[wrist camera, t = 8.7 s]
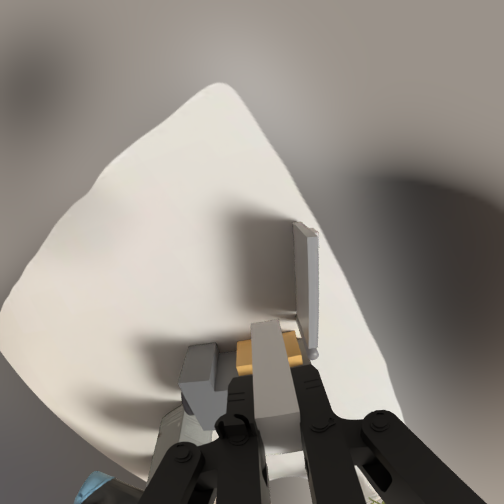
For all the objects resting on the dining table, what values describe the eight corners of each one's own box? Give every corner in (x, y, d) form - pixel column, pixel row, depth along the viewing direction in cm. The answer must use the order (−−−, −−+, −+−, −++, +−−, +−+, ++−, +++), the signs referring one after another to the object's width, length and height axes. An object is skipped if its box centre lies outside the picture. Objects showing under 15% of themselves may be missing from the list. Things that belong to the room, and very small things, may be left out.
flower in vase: (331, 471, 49) (350, 547, 25) (331, 453, 46) (353, 542, 22) (379, 456, 48) (406, 527, 24) (384, 436, 45) (419, 517, 21)
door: (309, 312, 35) (324, 346, 27) (296, 313, 35) (308, 348, 27) (307, 221, 31) (326, 235, 24) (292, 222, 31) (307, 237, 24)
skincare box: (185, 400, 40) (168, 477, 24) (218, 419, 41) (211, 493, 26) (160, 417, 41) (140, 485, 26) (190, 435, 43) (179, 501, 27)
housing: (199, 394, 39) (192, 435, 31) (173, 335, 36) (157, 375, 27) (311, 377, 38) (323, 417, 30) (303, 312, 35) (318, 351, 27)
